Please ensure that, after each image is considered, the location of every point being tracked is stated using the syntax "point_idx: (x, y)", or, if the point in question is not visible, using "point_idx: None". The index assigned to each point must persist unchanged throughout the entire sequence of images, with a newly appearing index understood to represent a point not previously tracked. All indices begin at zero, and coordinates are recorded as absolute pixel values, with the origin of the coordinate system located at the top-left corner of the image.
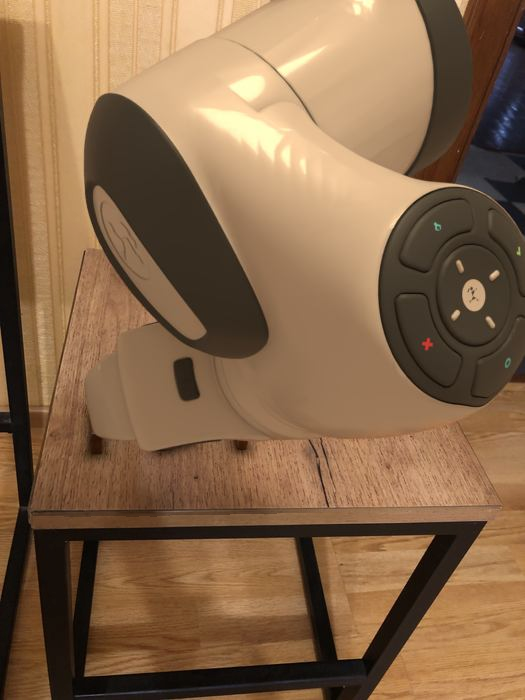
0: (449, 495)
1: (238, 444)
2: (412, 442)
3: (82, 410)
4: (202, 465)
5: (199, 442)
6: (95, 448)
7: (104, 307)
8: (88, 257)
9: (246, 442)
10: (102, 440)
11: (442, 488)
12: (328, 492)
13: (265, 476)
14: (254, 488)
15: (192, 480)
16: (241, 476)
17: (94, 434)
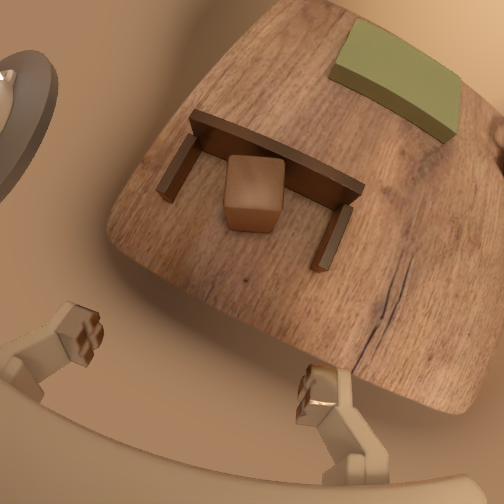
0: (446, 404)
1: (311, 267)
2: (465, 341)
3: None
4: (260, 269)
5: None
6: (164, 198)
7: (275, 35)
8: None
9: (320, 271)
10: (179, 188)
11: (447, 396)
12: (361, 362)
13: (316, 316)
14: (295, 324)
15: (240, 282)
16: (292, 303)
17: (158, 191)
